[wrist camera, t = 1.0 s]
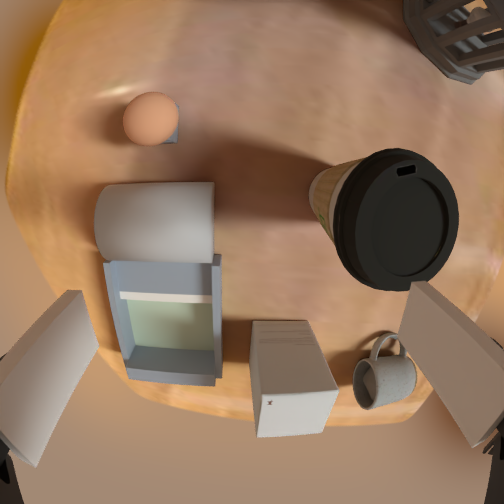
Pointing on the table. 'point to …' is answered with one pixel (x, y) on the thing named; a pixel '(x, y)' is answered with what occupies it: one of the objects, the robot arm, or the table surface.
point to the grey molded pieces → (163, 278)
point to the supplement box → (289, 379)
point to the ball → (150, 119)
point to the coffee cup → (388, 217)
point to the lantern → (458, 36)
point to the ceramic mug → (383, 377)
